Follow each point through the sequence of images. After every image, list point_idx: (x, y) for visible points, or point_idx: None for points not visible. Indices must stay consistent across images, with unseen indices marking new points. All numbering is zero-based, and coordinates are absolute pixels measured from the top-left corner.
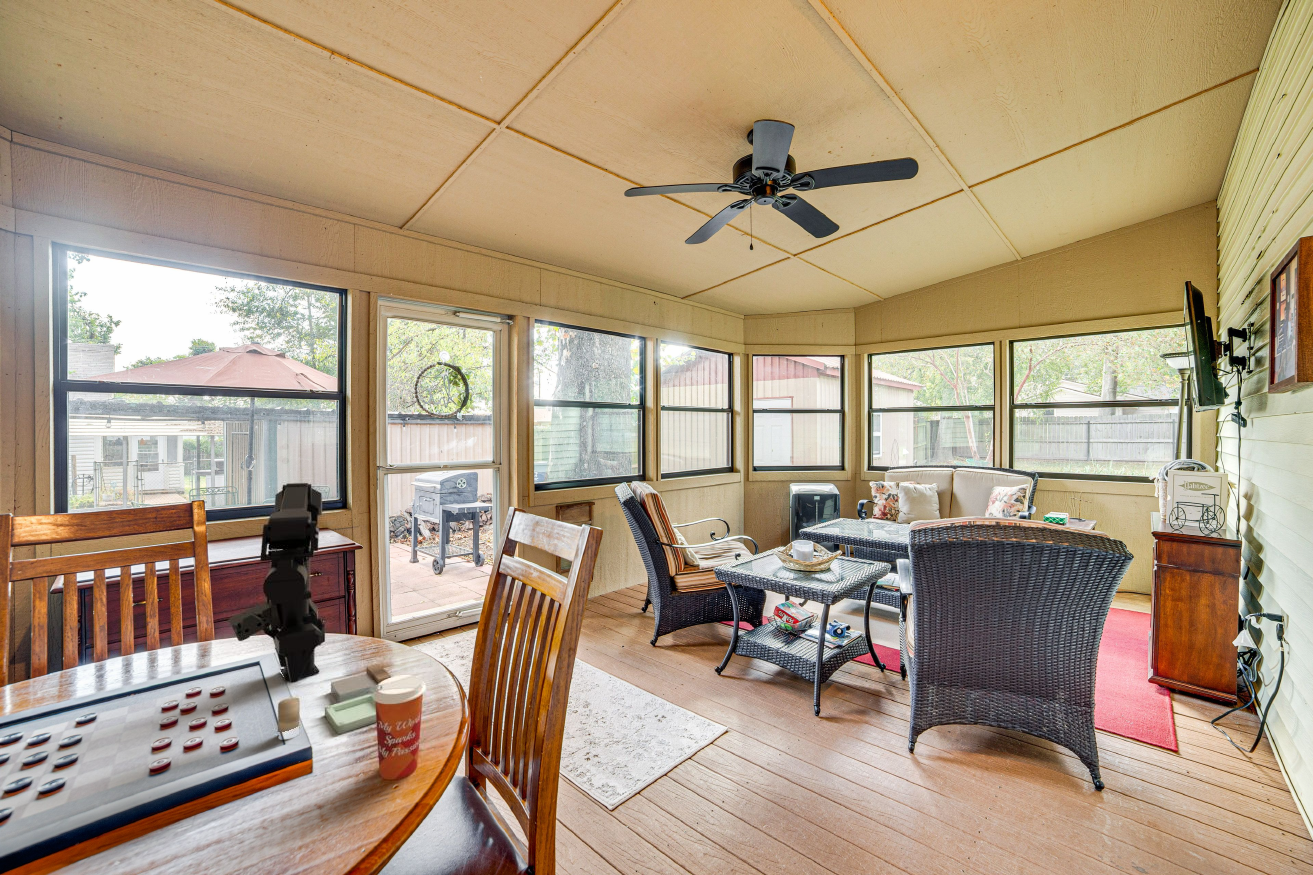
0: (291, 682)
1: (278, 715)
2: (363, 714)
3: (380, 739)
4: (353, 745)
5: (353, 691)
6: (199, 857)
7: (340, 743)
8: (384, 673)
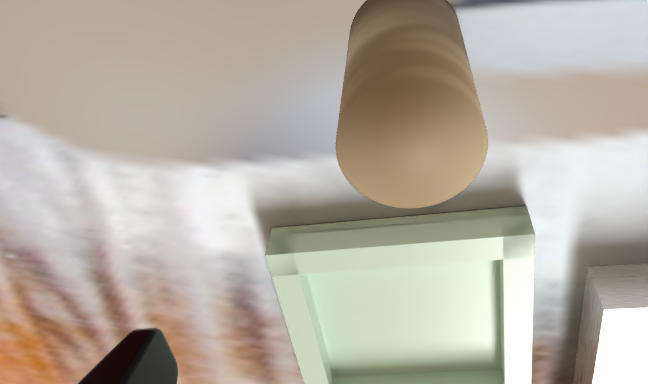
0: (135, 331)
1: (394, 45)
2: (380, 329)
3: None
4: (143, 259)
5: (597, 355)
6: None
7: (182, 225)
8: None
